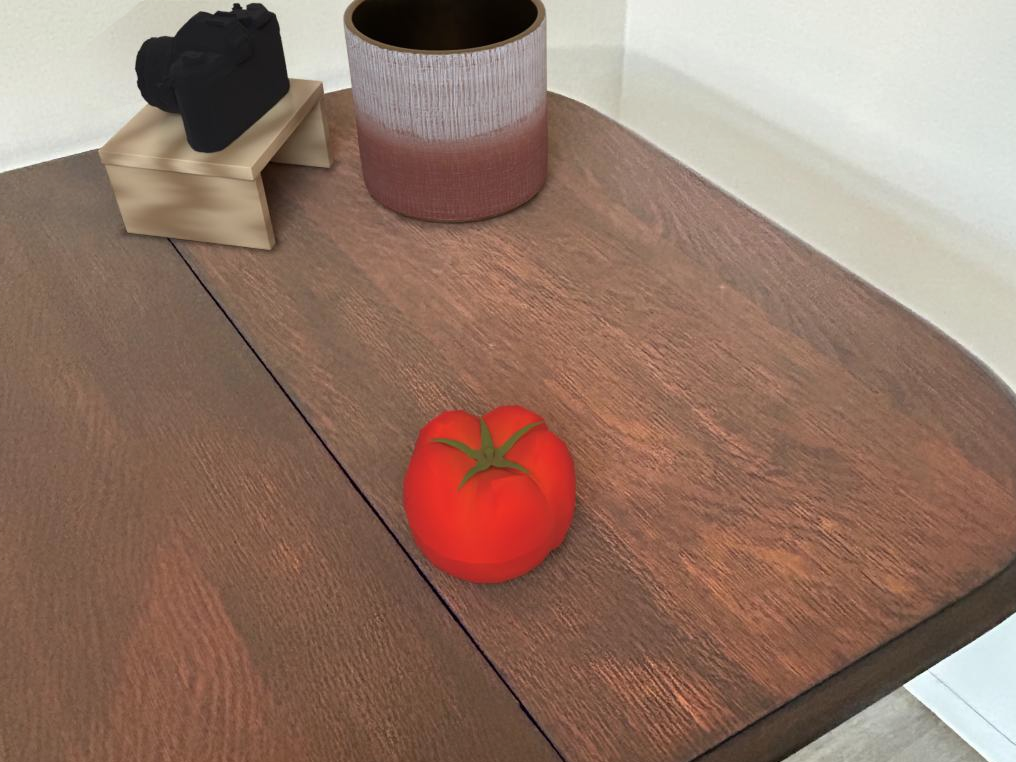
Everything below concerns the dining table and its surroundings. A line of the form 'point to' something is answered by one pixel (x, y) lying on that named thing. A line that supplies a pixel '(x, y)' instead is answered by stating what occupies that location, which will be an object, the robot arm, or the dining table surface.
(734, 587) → the dining table surface
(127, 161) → the shelf
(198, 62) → the film camera
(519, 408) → the tomato
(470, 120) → the planter
